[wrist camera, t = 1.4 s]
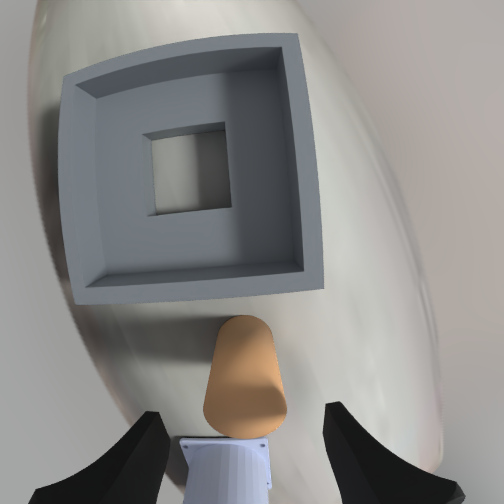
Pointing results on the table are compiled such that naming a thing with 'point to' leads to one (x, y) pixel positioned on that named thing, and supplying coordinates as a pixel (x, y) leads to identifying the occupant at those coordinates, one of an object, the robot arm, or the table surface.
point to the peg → (244, 381)
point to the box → (194, 222)
